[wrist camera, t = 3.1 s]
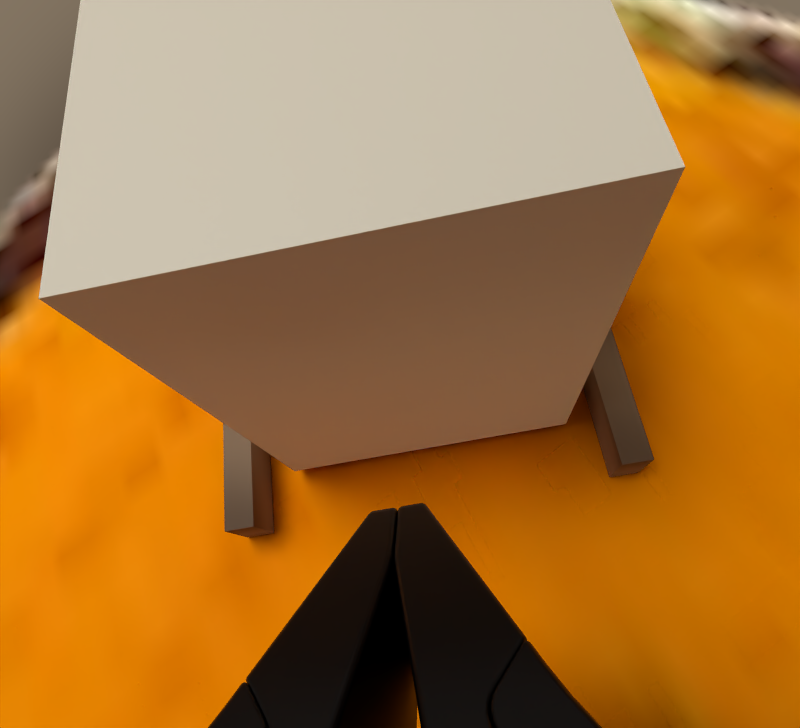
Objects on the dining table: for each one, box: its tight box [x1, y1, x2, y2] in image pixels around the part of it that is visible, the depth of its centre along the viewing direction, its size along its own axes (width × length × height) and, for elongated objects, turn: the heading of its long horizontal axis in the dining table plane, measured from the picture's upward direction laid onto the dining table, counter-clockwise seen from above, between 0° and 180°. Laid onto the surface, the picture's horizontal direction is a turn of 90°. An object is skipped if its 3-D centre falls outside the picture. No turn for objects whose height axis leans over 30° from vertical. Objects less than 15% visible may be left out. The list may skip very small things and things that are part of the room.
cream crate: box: [39, 0, 685, 471], centre depth 16 cm, size 10×10×13 cm
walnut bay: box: [223, 328, 654, 537], centre depth 24 cm, size 24×14×3 cm, turn 8°
